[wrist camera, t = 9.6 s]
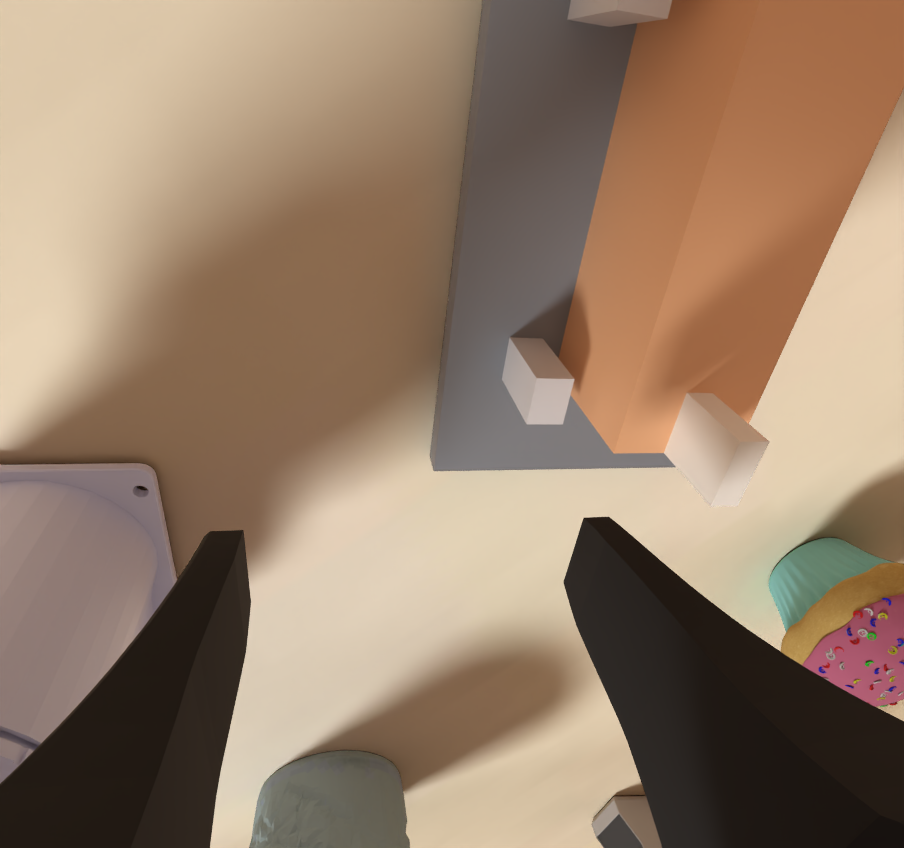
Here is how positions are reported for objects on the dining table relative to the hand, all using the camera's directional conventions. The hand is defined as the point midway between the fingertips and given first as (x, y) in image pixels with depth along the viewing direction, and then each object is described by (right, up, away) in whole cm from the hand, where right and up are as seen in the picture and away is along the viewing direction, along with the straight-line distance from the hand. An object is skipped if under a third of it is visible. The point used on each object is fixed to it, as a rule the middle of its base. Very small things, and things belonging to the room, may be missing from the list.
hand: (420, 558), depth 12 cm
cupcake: (+20, -5, +19) cm, 28 cm away
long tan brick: (+7, +10, +5) cm, 13 cm away
